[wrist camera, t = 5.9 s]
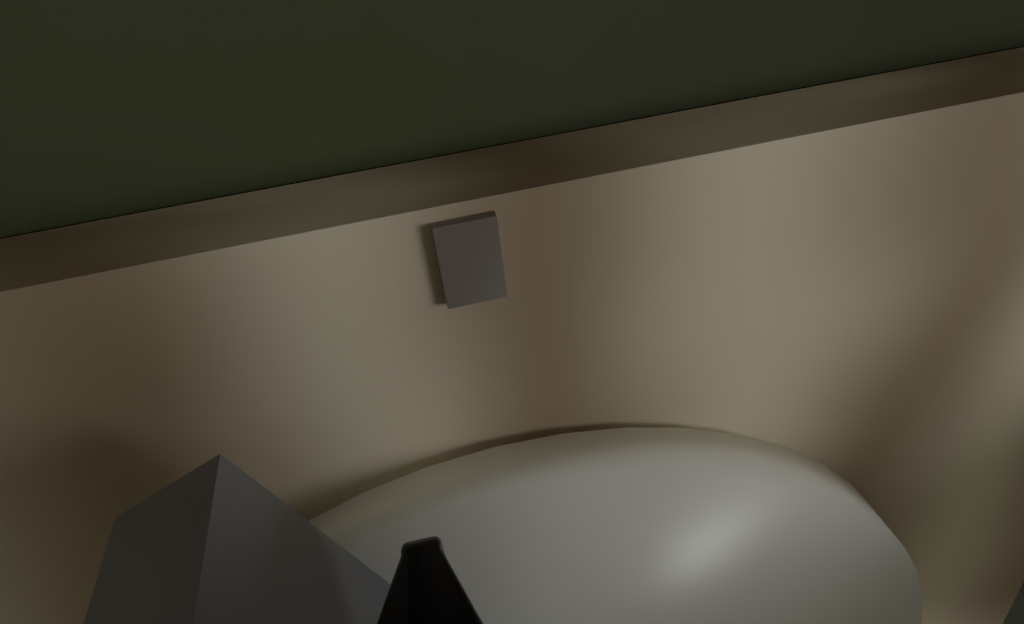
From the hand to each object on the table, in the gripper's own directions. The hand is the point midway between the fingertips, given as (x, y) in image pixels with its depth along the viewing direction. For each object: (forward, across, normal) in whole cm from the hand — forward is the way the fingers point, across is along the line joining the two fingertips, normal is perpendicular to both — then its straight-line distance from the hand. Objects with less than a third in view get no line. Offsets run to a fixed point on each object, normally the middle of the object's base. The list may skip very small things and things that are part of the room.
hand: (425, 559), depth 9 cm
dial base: (+4, -1, +9) cm, 10 cm away
